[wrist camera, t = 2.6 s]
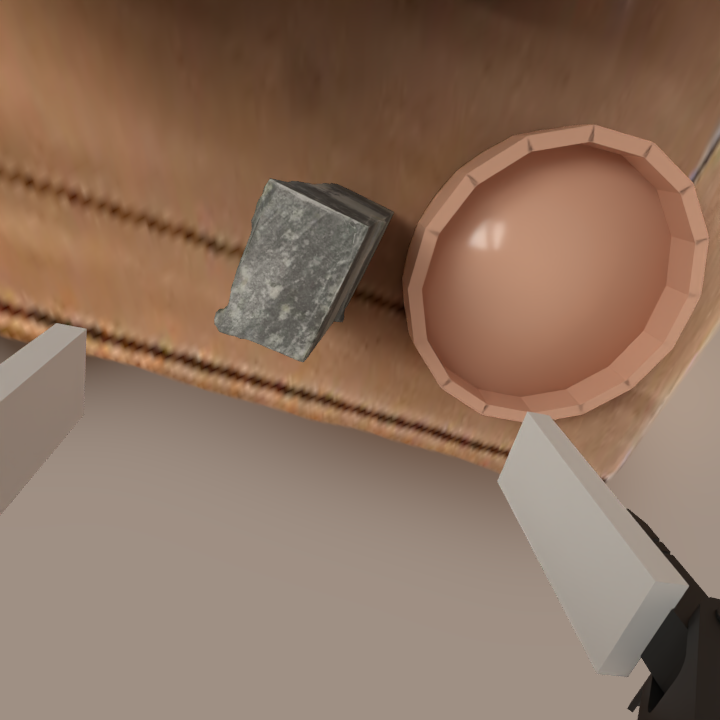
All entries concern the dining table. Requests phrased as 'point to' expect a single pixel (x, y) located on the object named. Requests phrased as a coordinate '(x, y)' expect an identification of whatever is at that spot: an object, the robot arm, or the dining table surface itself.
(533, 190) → the dish
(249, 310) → the stone block
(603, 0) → the dining table surface
